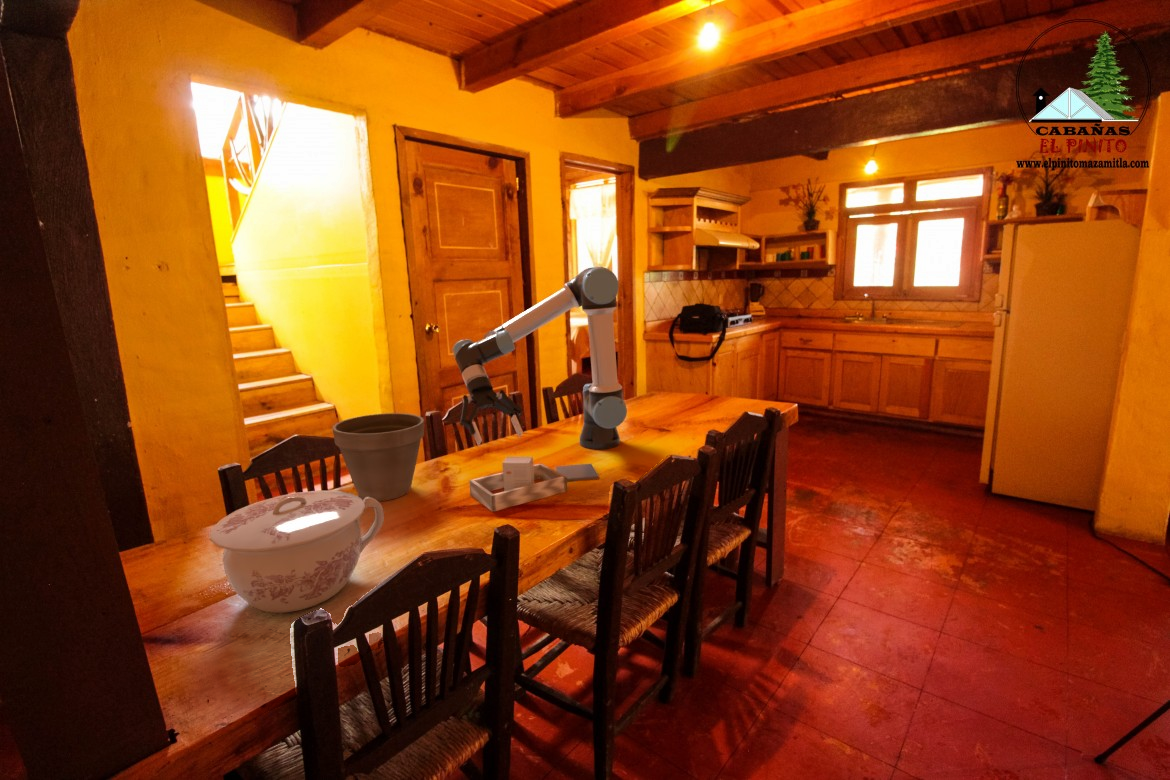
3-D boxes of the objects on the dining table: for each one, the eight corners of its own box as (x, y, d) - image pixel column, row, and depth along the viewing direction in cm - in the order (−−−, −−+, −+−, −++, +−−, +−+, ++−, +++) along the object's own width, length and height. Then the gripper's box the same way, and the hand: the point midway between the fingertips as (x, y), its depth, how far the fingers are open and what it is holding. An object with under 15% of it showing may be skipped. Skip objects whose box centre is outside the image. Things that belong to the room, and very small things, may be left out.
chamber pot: (188, 636, 100) (168, 530, 96) (271, 560, 127) (259, 474, 123) (343, 633, 100) (330, 526, 96) (394, 557, 127) (385, 471, 123)
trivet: (591, 465, 185) (591, 463, 185) (598, 478, 173) (598, 476, 173) (555, 468, 183) (555, 466, 183) (560, 481, 171) (560, 479, 171)
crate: (541, 476, 176) (540, 463, 175) (567, 491, 164) (566, 476, 163) (470, 494, 162) (469, 480, 162) (492, 511, 150) (491, 496, 149)
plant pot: (429, 473, 181) (423, 408, 176) (429, 502, 158) (423, 428, 153) (346, 482, 174) (339, 415, 170) (334, 514, 151) (325, 437, 147)
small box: (534, 490, 165) (533, 456, 163) (531, 497, 160) (529, 462, 157) (508, 489, 166) (506, 456, 164) (503, 497, 160) (502, 462, 158)
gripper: (509, 384, 187) (532, 437, 178) (437, 394, 173) (458, 452, 164) (516, 370, 181) (540, 425, 172) (442, 380, 168) (464, 439, 158)
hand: (500, 438), depth 168 cm, fingers open, 13 cm apart
